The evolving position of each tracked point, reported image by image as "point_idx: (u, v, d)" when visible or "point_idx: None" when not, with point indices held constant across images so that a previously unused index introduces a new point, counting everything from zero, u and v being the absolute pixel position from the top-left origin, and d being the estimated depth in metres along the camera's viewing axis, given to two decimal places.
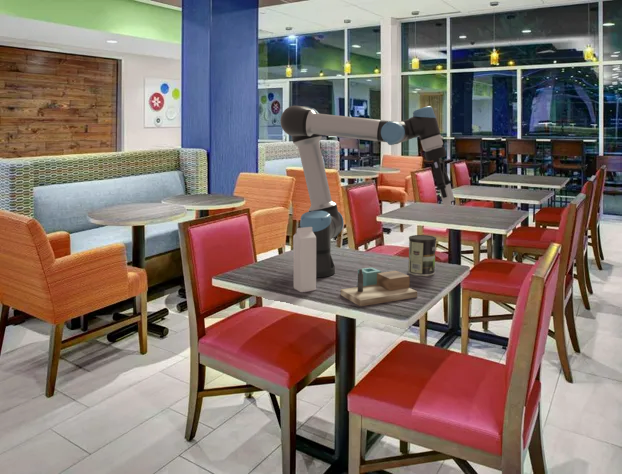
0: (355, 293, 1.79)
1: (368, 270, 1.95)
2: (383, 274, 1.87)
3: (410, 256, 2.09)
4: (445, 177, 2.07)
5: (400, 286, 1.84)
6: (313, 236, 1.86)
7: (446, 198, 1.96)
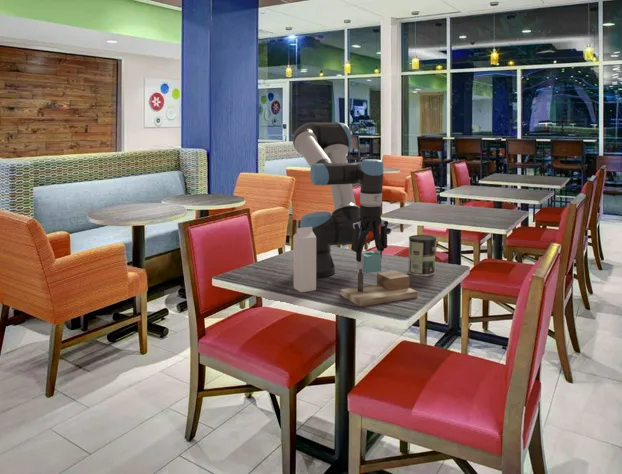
0: (355, 293, 1.79)
1: (368, 254, 1.94)
2: (383, 274, 1.87)
3: (410, 256, 2.09)
4: (377, 240, 1.92)
5: (400, 286, 1.84)
6: (313, 236, 1.86)
7: (360, 262, 1.91)
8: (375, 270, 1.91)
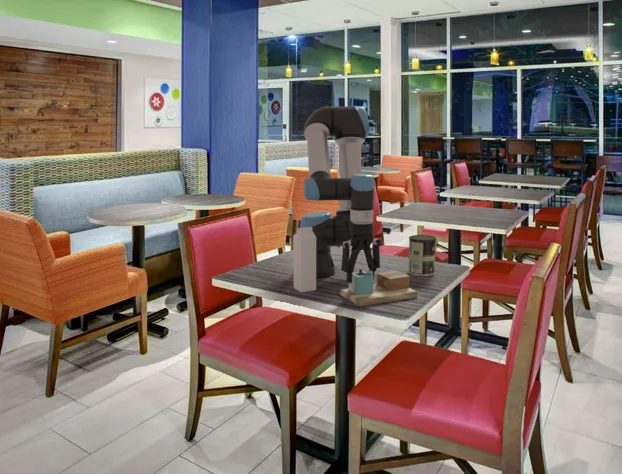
0: None
1: None
2: (383, 274, 1.87)
3: (410, 256, 2.09)
4: (368, 259, 1.80)
5: (400, 286, 1.84)
6: (313, 236, 1.86)
7: (351, 284, 1.79)
8: (367, 291, 1.79)
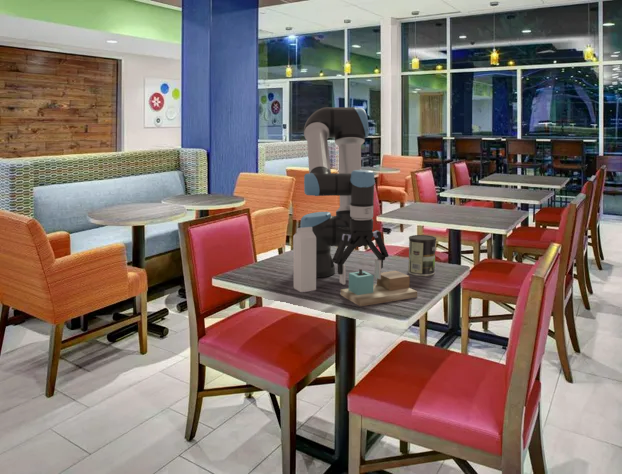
0: None
1: None
2: (383, 274, 1.87)
3: (410, 256, 2.09)
4: (374, 251, 1.81)
5: (400, 286, 1.84)
6: (313, 236, 1.86)
7: (342, 275, 1.78)
8: (367, 292, 1.79)
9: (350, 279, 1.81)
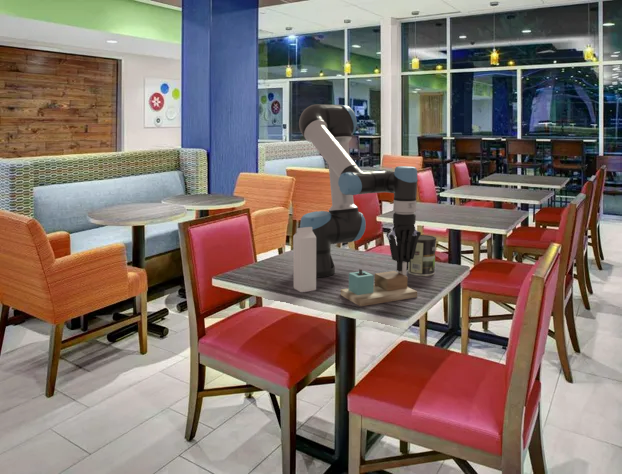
0: None
1: None
2: (381, 274, 1.86)
3: None
4: (405, 249, 1.86)
5: (398, 286, 1.84)
6: (313, 236, 1.86)
7: (401, 272, 1.88)
8: (367, 292, 1.79)
9: (350, 279, 1.81)
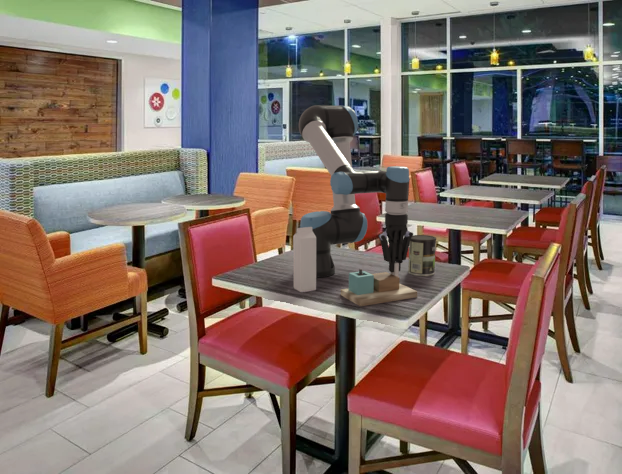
0: None
1: None
2: None
3: (410, 256, 2.09)
4: (398, 250, 1.85)
5: (390, 287, 1.82)
6: (313, 236, 1.86)
7: (393, 273, 1.86)
8: (367, 292, 1.79)
9: (350, 279, 1.81)
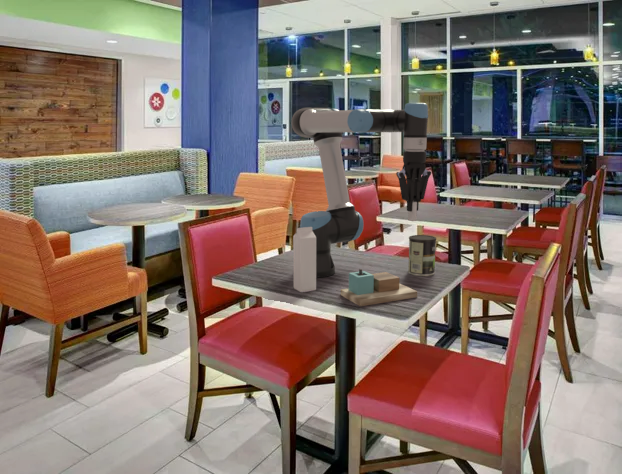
0: None
1: None
2: None
3: (410, 256, 2.09)
4: (416, 189, 1.83)
5: (390, 287, 1.82)
6: (313, 236, 1.86)
7: (411, 212, 1.85)
8: (367, 292, 1.79)
9: (350, 279, 1.81)
